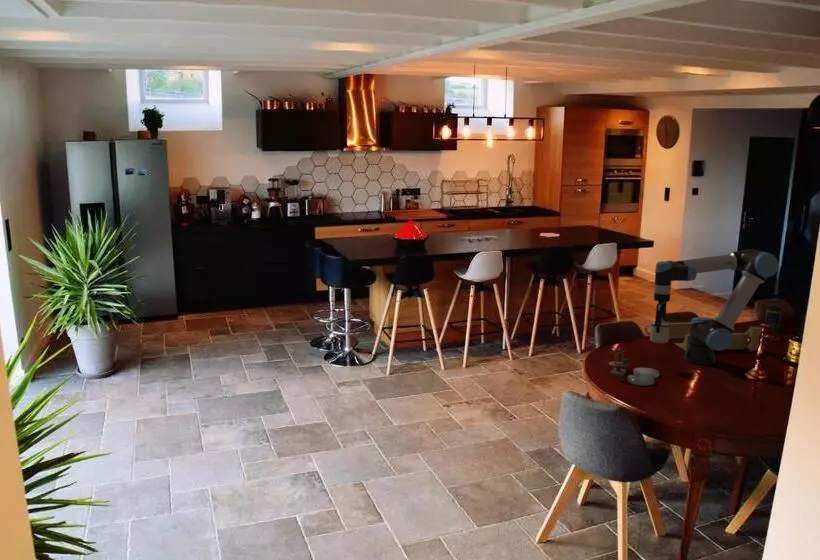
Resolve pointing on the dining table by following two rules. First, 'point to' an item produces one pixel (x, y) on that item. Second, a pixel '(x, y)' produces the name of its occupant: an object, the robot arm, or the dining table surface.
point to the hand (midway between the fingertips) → (659, 336)
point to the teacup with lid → (664, 332)
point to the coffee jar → (773, 316)
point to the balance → (619, 364)
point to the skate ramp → (738, 338)
